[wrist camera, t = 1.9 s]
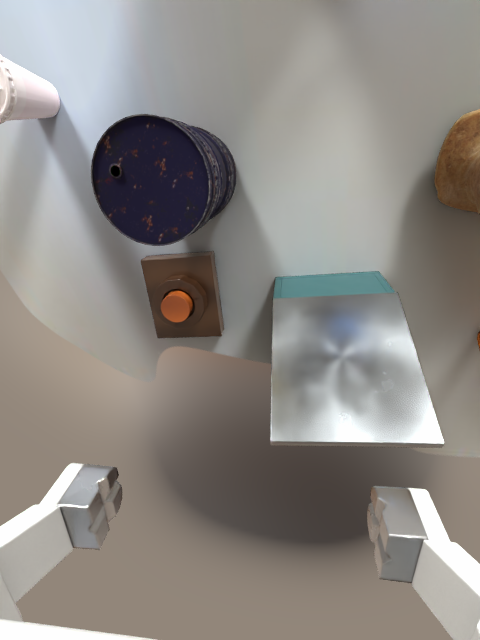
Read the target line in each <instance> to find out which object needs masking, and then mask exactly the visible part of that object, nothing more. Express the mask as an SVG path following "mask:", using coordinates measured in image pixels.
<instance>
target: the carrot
mask: <svg viewBox="0 0 480 640" xmlns="http://www.w3.org/2000/svg"><path fill="white" fill-rule="evenodd" d="M477 341H478V346H479V350H480V332H479V333H478V336H477Z"/></svg>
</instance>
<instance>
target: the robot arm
mask: <svg viewBox="0 0 480 640" xmlns="http://www.w3.org/2000/svg"><path fill="white" fill-rule="evenodd" d="M118 475H119V474H118V471H117V468H116V467H109V466H100V465H90V464H77V463H71V464H70V465H68V466H67V467H66V469H65V470H64V471H63V473H62V474H61V476H60V477H59V478H58V480H57V481H56V482H55V484H54V485H53V487H52V488H51V489H50V491H49V492H48V493H47V495H46V496H45V497H44V499H43V500H42V501H41V503H40V504H39V505H33V506H32V507H30V508H29V509H27V510H25V511H24V512H22V513H21V514H19V515H18V516H16V517H15V518H13V519H11V520H10V521H8V522H7V523H5V524H3V525H2V526H0V640H156V639H149V638H141V637H134V636H127V635H119V634H112V633H104V632H96V631H89V630H82V629H74V628H66V627H59V626H52V625H44V624H37V623H29V622H23V620H22V615H21V614H20V611H19V609H18V607H17V605H16V602H17V601H18V600H19V599H20V598H22V597H23V596H24V595H25V594H26V593H27V592H28V591H29V590H30V589H31V588H32V587H33V586H34V585H36V584H37V583H38V582H39V581H40V580H41V579H42V578H43V577H44V576H45V575H46V574H48V573H49V572H50V571H51V570H52V569H53V568H54V567H55V566H56V565H57V564H58V563H59V562H61V561H62V560H63V559H64V558H65V557H66V556H67V555H68V554H69V553H70V552H71V551H72V550H73V548H82V549H96V550H99V549H100V548H101V546H102V544H103V541H104V540H105V537H106V535H107V533H108V531H109V525H108V522H109V521H110V520H111V519H113V518H114V517H115V516H116V515H117V513H118V510H119V508H120V505H121V500H122V487H121V485H120V484H119V483H118V482H117V481H116V479H117V478H118ZM370 496H371V499H372V503H370V504H369V505H368V512H367V517H368V519H367V520H368V529H369V534H370V539H371V540H372V542H373V543H374V544H375V545H376V546H375V552H374V556H375V561H376V565H377V570H378V574H379V578H380V579H383V580H391V581H398V582H407V583H412V586H413V588H414V589H415V590H416V591H417V593H418V594H419V595H420V597H421V598H422V599H423V601H424V602H425V603H426V605H427V606H428V607H429V609H430V610H431V611H432V613H433V614H434V615H435V617H436V618H437V619H438V620H439V622H440V623H441V624H442V626H443V627H444V628H445V630H446V631H447V632H448V633H449V635H450V636H451V638H452V639H453V640H480V564H479V563H478V562H477V561H476V560H475V559H473V558H472V557H471V556H470V555H469V554H468V553H467V552H466V551H465V550H464V549H463V548H461V547H460V546H459V545H458V544H457V543H454V542H450V540H449V538H448V535H447V533H446V531H445V529H444V527H443V525H442V522H441V520H440V518H439V515H438V513H437V511H436V508H435V506H434V504H433V502H432V499H431V498H430V495H429V493H428V491H427V490H426V489H415V488H403V487H387V486H372V488H371V493H370Z"/></svg>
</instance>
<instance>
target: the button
mask: <svg viewBox="0 0 480 640" xmlns="http://www.w3.org/2000/svg"><path fill="white" fill-rule="evenodd" d="M192 309H193V301H192V299H191V297H190V296H189V295H188V294H187V293H185V292H183V291H180V290H175V291H172V292H170V293H169V294H168V295H167V296H166V297H165V298H164V299H163V301H162V303H161V311H162V313H163V315H164V316H165V317H166V318H167V319H168V320H170V321H172V322H182V321H184V320H185V319H187V317H188V316H189V314H190V313H191V311H192Z"/></svg>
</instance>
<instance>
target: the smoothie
mask: <svg viewBox="0 0 480 640" xmlns="http://www.w3.org/2000/svg"><path fill="white" fill-rule="evenodd" d="M59 107H60V99H59V95H58V93H57V91H56V89H55V88H54V86H53V85H52V84H51V83H49V82H48V81H46V80H44V79H42V78H40V77H38V76H37V75H35V74H33V73H31V72H29V71H27V70H26V69H24V68H22V67H20V66H18V65H16V64H15V63H13V62H11V61H9V60H7V59H6V58H4V57H2V56H1V55H0V124H1V123H4V122H5V121H9V120H23V119H39V118H51V117H53V116H55V115H56V114H57V112H58V111H59Z"/></svg>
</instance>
